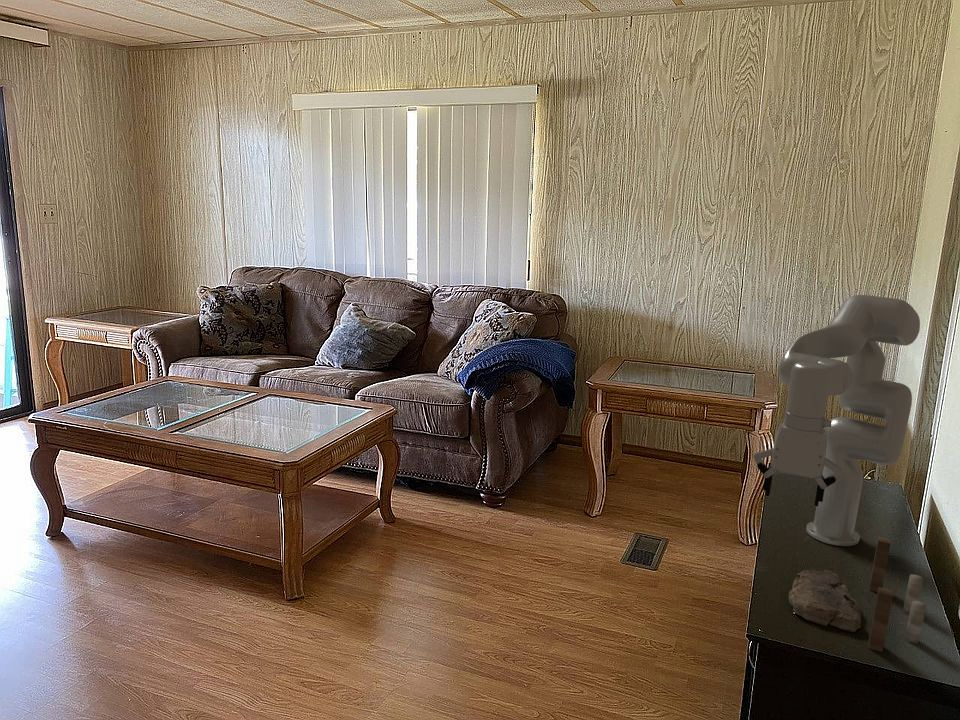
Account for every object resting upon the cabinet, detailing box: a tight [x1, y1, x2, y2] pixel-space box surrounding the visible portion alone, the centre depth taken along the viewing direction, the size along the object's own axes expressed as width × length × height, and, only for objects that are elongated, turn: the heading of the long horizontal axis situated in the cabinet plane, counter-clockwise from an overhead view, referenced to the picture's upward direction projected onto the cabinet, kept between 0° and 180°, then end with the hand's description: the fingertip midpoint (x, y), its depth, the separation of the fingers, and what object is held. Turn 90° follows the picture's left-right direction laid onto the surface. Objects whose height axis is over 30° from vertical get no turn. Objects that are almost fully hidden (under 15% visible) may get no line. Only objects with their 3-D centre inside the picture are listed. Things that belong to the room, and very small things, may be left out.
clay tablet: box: [788, 568, 862, 633], centre depth 161 cm, size 14×5×20 cm
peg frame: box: [868, 536, 927, 653], centre depth 154 cm, size 27×9×12 cm, turn 153°
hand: (791, 499), depth 158 cm, fingers open, 9 cm apart
